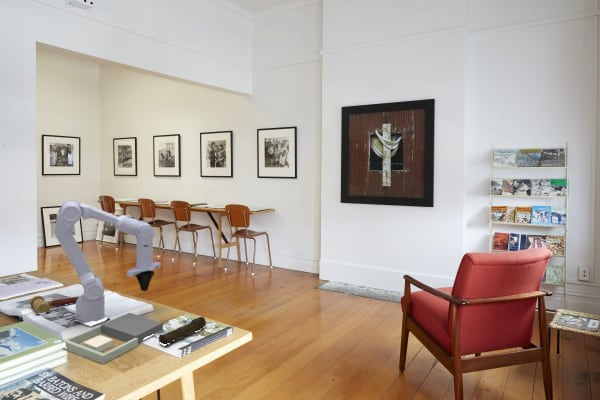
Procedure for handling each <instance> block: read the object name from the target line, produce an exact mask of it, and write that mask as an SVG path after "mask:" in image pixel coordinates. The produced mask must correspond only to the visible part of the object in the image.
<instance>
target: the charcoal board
mask: <svg viewBox="0 0 600 400" xmlns="http://www.w3.org/2000/svg"><path fill="white" fill-rule="evenodd" d="M100 326H101V333H100V334H103V335H105V336H108V337H111V338H114V339H117V340H121V341H123V342H125V343H126V342H128V341H130V340H132V339H134V338H138V345H139V344H141V343H142V342H144V341H143V339H144V338H145V337H147V336H150V335H152V334H155V333H157V332H159V331H161V330H163V331H164V329H163V327H164V323H163V322H162V321H158V320H155V319H151V318H148V317H145V316H142V315H138V314H135V313H133V312H132V313H131V312H128V313H126V314H123V315H120V316H118V317H115V318H113V319H110V320H108V321H105V322H103V323H100Z"/></svg>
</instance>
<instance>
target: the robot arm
mask: <svg viewBox="0 0 600 400" xmlns="http://www.w3.org/2000/svg"><path fill="white" fill-rule="evenodd" d="M81 218H82V221H84V220H90V219H94V220H98V221H101V222H104V223H107V224H109V225H113V226H114V227H115V229H116V230H117V231H119V232H122V233H125V234H127V235H131V236H136V238H137V239H136V240H137V241H136V259H135V261H136V264H135V265H136V266H134V267H132V268H131V269H128V270H126V276H127V277H128V278H129V277H130V278H133V277H134V276H135V278H136V279H137V281H138V284H139V287H140V291H142V292H147V291H148V290H149V287H150V286H149V285H150V283H151V280H152V278H153V276H154V275H155V271H154V270H155V269H160V268H161V267H162V266H161V262H158V261H156V262H154V260H153V256H154V244H153V243H154V242H153V241H154V239H153V238H154V237H155V233H156V232H155V229H154V228H153V227H152V226H151V224H149V223H147V221H143V220H137V219H135V218H133V217H131V215H129V214H126V215H125V214H123V215H122V214H121V215H119V216H116V215H115V214H112V213H111V212H110V213H109V212H107V211H105V210H103V209H100V208H97V207H95V206H93V205H90V204H86V203H82V202H78V201H76V200H66V201H65V202H63V203H62V204H61V206H60V208H59V209H58V212H57V215H56V219H55V220H56V221H55V225H54V228H53V229H54V230H53V233H54V235H55V238H56V240H57V241H58V243H59V245H60V246H61V248H62V249H63V252H64V253H65V255H66V257H67V259H68V261H69V262H70V264H71V266H72V268H73V270H74V271H75V274H76V275H77V277H78V278H79V281H80V283H81V285H82V287H83V294H82V295H80V297H79V296H78V297H79V298H78V299H77V301H76V304H75V319H76V318H78V319H81V320H83V321H86V322H90V321H98V320H101V319H103V318H104V317H106V316H105V309H106V308H105V303H106V302H105V300H106V299H105V298H106V297H105V296H106V295H105V294H104V293H105V288H104V286H103V280H102V278H101V277H100V276H98V275H97V274H96V273H95V271H94V270H93V269H92V266H90V263H89V262H88V260H87V258H86V256H85V254H84V253H83V250H82V249H81V247H80V245H79V244H78V242H77V240H76V238H75V236H74V234H73V233H72V230H73V228H74V226H75V225H76V224H77V223H78V221H79V220H80V219H81Z"/></svg>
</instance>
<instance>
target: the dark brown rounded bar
mask: <svg viewBox="0 0 600 400" xmlns="http://www.w3.org/2000/svg"><path fill="white" fill-rule="evenodd" d="M204 326H207V321H206V318H205V317H203V316H198V317H196V318H193V319H192V320H190V322H189V323H188V324H184V325H182V326H179V327H178V328H176V329H174V330H171V331H169V332H166V333H163V334H159V335H158V343H159V342H161V343H163V344H167V343H170V342H171V341H173V340H176V339H178V338H180V337H183V336H185V335H187V334H189V335H191V334H193V333H192V332H195V331H198V330H200V329H201V328H203V327H204ZM203 329H204V328H203ZM190 333H191V334H190ZM187 336H188V335H187ZM185 337H186V336H185ZM183 338H184V337H183ZM180 339H181V338H180ZM178 340H179V339H178ZM176 341H177V340H176ZM170 344H171V343H170Z"/></svg>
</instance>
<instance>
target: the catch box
mask: <svg viewBox="0 0 600 400" xmlns="http://www.w3.org/2000/svg"><path fill="white" fill-rule="evenodd" d="M101 334H102V333H101V325H96V326H93V327H91V328H89V329H86V330H85V331H82V332H80V333H77V334H76V335H73V336H70V337H67V338H66V339H63V340H64V341H65V343H66V347H67V350H66V351H69V352H71V353H74V354H76V355H79V356H82V357H84V358H87V359H89V360H91V361H95V362H97V363H100V364H103V365H104V364H107V363H108V362H110V361H112V360H113V359H116V358H117V357H120V356H122V355H123V354H125V353H127V352H129V351H131V350H133V349H134V348H136V347H139V344H138V338H134V339H132V340H130V341H128V342H126V341H125V342H124V343H123V344H120V345H118V346H116V347H114V348H112V349H110V350H108V351H106V352H105V353H103V352H98V351H95V350H93V349H90V348H87V347H85V346H83V344H82V345H81V344H80V343H81V342H85V341H87V340H90V339H92V338H94V337H96V336H99V335H101Z"/></svg>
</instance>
